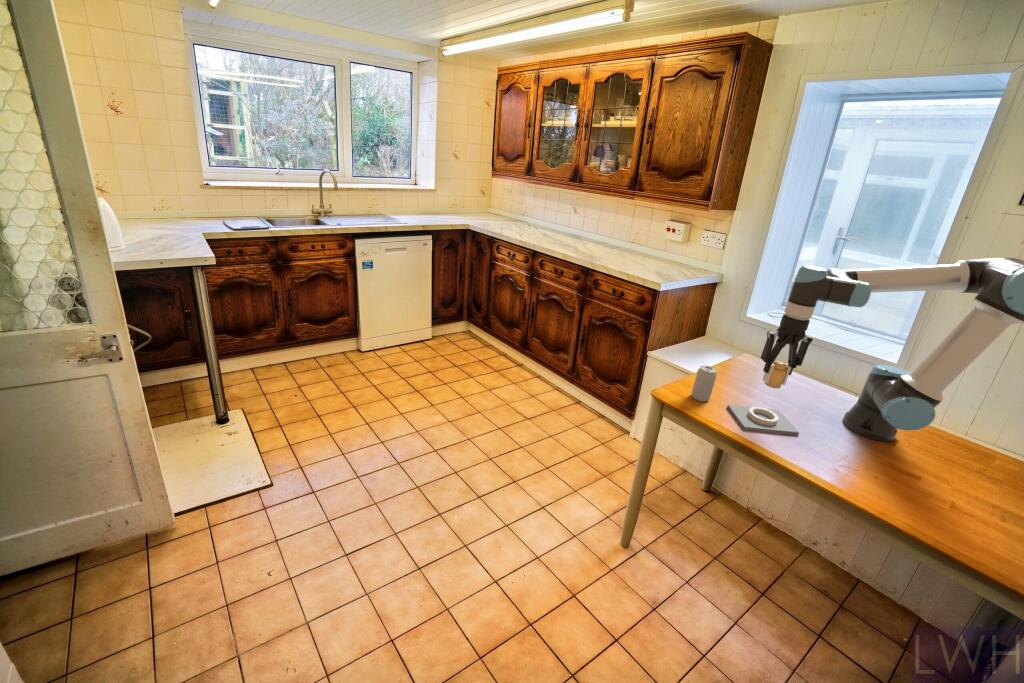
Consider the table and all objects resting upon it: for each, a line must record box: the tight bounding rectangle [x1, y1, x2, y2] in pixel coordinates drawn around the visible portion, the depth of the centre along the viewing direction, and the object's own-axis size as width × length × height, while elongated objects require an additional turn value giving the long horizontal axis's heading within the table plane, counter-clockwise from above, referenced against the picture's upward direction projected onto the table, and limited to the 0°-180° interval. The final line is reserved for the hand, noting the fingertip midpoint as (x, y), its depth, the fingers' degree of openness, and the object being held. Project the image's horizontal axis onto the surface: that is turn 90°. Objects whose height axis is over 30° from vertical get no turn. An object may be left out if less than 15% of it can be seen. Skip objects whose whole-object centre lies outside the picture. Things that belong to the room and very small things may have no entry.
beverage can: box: [691, 365, 718, 403], centre depth 170 cm, size 6×6×12 cm
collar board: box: [726, 404, 800, 436], centre depth 161 cm, size 18×14×3 cm
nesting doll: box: [764, 360, 787, 389], centre depth 155 cm, size 5×5×8 cm
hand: (773, 382), depth 156 cm, fingers closed on nesting doll, 5 cm apart
